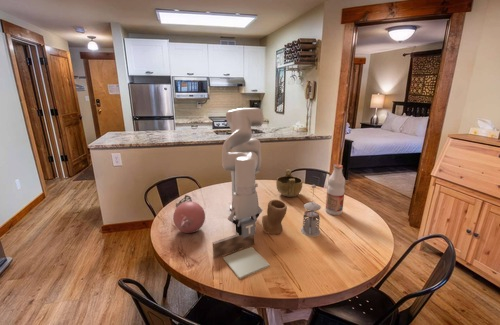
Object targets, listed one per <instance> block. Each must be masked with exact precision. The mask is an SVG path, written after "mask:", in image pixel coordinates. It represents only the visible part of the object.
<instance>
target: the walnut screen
mask: <svg viewBox="0 0 500 325" xmlns="http://www.w3.org/2000/svg"><path fill="white" fill-rule="evenodd" d="M255 234H256V233H255ZM255 234H254V235H251V236H248V237H245V238H243V237H242V236H241V235H239V234H238V233H236V234H233V235H231V236H226V237H224V238H221V239H218V240H215V241H212V257H213V258H214V259H217V258H220V257H222V256H223V257H224V256H225V255H226V256H227V255H228V254H231V253H235V252H236V251H238V250H239V251H240V250H243V249H244V248H245V249H246V248H248V247H251V246H252V245H255V241H256V238H255V237H256V236H255Z"/></svg>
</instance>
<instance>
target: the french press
mask: <svg viewBox="0 0 500 325" xmlns="http://www.w3.org/2000/svg"><path fill="white" fill-rule="evenodd" d="M311 188H313V191H312V192H313V193H312V194H313V195H312V196H314V195H315V194H314V191H315V188H317V186H316V184H312V185H311ZM303 208H304V209H305V210H306V211H304V213H303V220H302V227H301V228H300V232H301V233H302V235H305V236H307V237H309V238H312V237H313V238H315V237H318V236H320V234H322V233H321V230H320V220H321V219H320V213H319V212H318V211H320V210H321V209H322V206H321V205H320V204H319V203H317V202H314V201H310V202H307V203H304V205H303Z"/></svg>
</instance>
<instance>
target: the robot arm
mask: <svg viewBox="0 0 500 325" xmlns="http://www.w3.org/2000/svg"><path fill="white" fill-rule="evenodd" d="M225 119H226V122H227V125H228V127H229V129H230V132H231V134H230V135H229V136H228V137H227V138H225V141H224V142H223V144H222V149H221V153H222V154H221V165H222V168H223V169H224V170H225V171H227V172H230V175H231V195H232V196H231V197H232V198H231V199H232V200H231V204H230V205H229V210H230V211H231V213H230V214H229V216H228V217H227V220H228V221H229V222H230V223H232V224H234V225H235V233H236V234H239V235H242V228H241V225H240V224H241V221H242V219H244V218H248V217H250V218H252V219H253V220H254V221H255V228H256V226H257V224H256V222H257V221H258V218H259V217H260V215H261V213H262V212H263V209H262V208H261V207H260V204H259V198H258V197H259V196H258V191H257V190H256V188H258V187H259V186H258V183H256V174H259V173H260V172H261V168H262V167H261V166H262V165H261V164H262V145H261V144H262V143H261V141H260V139H258V138H255V137H253V138H252V136H253V132H252V128H253V127H262V125H263V123H264V114H263V111H262V109H261V108H260V107H259V108H258V107H238V108H236V109H230V110H228V111H227V112H226V113H225ZM234 217H235V219H234Z"/></svg>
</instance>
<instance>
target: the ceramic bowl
mask: <svg viewBox="0 0 500 325" xmlns="http://www.w3.org/2000/svg"><path fill="white" fill-rule="evenodd" d="M275 183H276V190H277V192H278V193H279V194H281V195H283V196H284V197H288V198H292V197H293V198H294V197H296V196H298V195H299V194H300V193H301V191H302V189H303V179H302V178H300V177H298V176H294V175H292V169H285V175H283V176H279V177H277V179H276V182H275Z"/></svg>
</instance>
